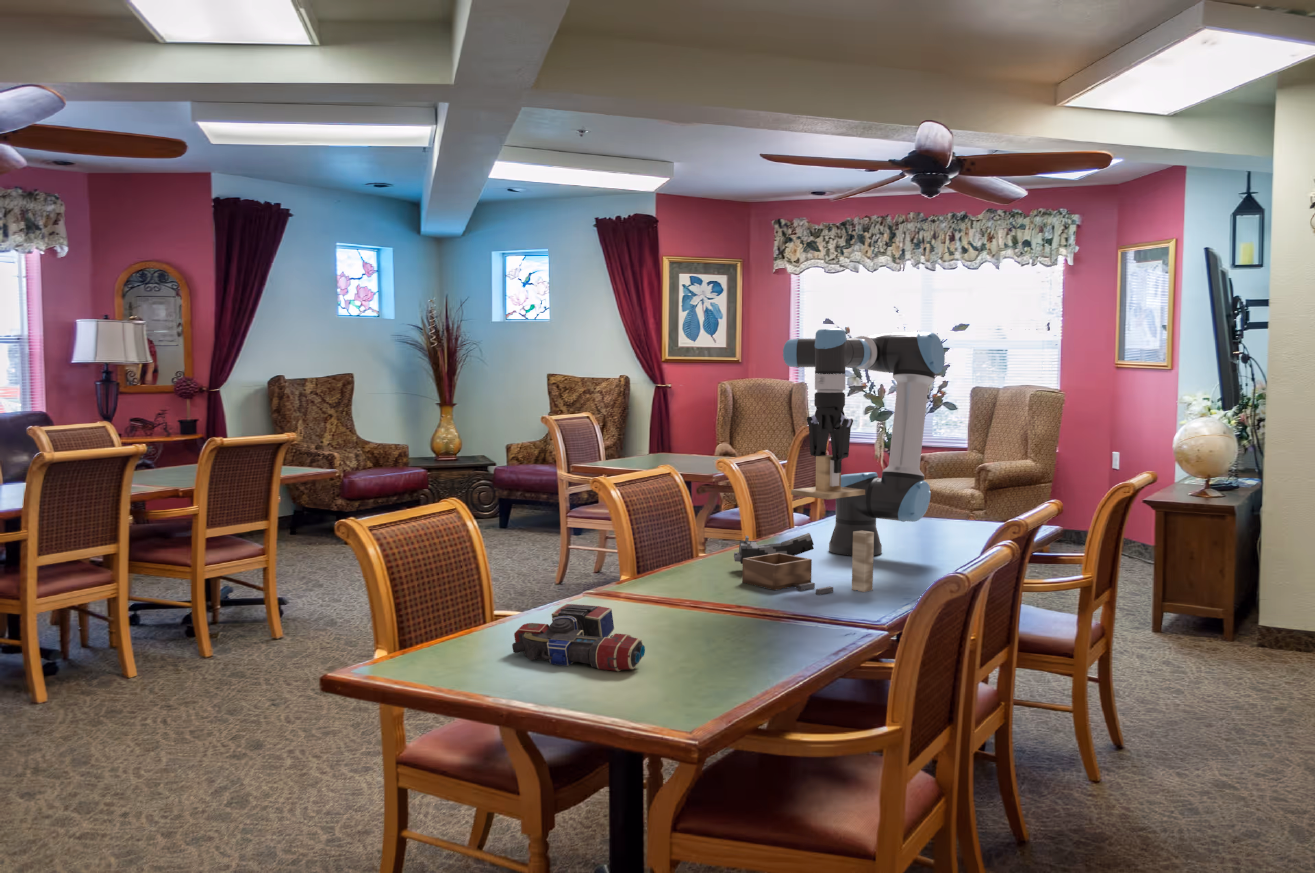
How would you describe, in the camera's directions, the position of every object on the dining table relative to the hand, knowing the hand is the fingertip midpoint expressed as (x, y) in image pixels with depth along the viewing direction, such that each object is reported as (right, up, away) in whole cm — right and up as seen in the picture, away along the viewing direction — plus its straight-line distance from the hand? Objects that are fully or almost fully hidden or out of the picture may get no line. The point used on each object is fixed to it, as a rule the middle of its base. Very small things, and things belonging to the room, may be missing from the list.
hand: (828, 485), depth 248 cm
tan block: (+6, -25, -10) cm, 27 cm away
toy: (-13, -23, +12) cm, 29 cm away
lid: (0, -2, 0) cm, 2 cm away
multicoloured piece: (-56, -28, -66) cm, 91 cm away
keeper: (-6, -25, -11) cm, 28 cm away
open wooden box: (-13, -24, -3) cm, 28 cm away
